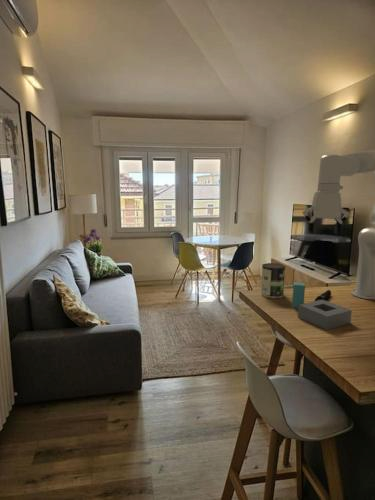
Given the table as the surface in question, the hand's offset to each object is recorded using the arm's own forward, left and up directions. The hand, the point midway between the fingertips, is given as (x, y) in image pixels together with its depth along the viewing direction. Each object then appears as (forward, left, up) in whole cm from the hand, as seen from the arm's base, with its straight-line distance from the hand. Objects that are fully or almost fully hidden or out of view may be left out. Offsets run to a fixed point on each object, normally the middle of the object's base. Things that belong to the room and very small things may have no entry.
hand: (323, 233), depth 125 cm
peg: (-2, -8, -32) cm, 33 cm away
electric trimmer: (-15, +3, -32) cm, 36 cm away
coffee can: (-15, -19, -32) cm, 40 cm away
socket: (+10, +1, -32) cm, 33 cm away
